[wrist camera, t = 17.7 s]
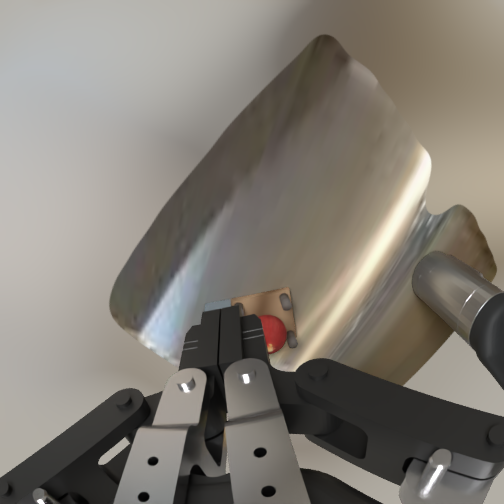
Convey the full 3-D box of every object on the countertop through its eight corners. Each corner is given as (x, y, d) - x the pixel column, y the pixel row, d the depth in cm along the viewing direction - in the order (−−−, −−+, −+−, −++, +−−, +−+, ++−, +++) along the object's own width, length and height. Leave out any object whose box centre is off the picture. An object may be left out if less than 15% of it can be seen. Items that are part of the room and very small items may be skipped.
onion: (274, 340, 49) (280, 371, 42) (240, 331, 48) (242, 362, 41) (288, 310, 47) (298, 340, 40) (253, 300, 46) (257, 329, 39)
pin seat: (288, 287, 47) (292, 299, 43) (295, 334, 50) (300, 348, 46) (205, 303, 47) (203, 316, 43) (219, 349, 50) (218, 363, 46)
